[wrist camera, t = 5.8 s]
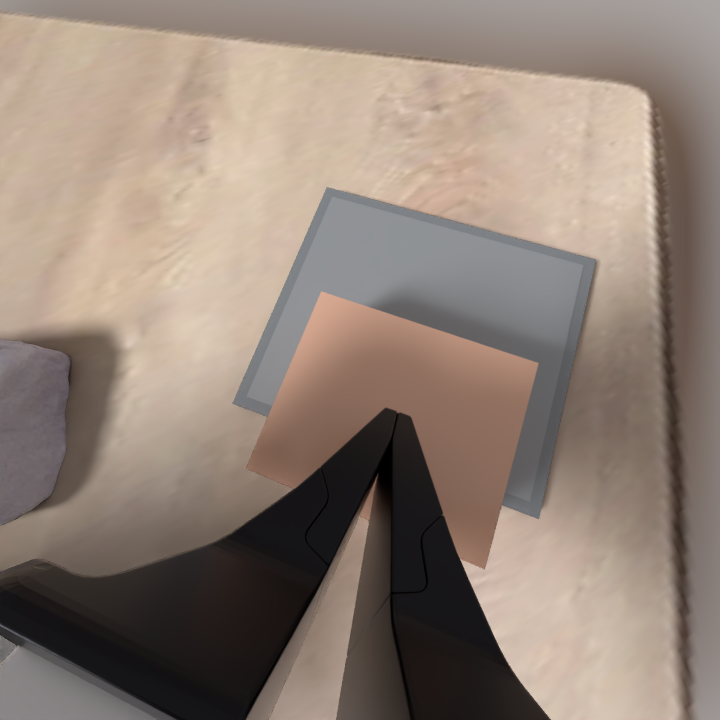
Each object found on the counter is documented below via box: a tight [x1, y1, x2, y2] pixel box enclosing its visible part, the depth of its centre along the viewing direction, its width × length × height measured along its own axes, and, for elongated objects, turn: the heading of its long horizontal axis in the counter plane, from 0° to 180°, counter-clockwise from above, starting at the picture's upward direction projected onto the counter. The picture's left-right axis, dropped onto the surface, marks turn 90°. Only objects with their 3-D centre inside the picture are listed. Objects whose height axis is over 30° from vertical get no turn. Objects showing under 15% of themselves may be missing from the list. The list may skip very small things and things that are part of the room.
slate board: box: [233, 187, 596, 519], centre depth 17 cm, size 14×16×1 cm
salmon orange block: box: [246, 291, 539, 569], centre depth 13 cm, size 4×9×8 cm
